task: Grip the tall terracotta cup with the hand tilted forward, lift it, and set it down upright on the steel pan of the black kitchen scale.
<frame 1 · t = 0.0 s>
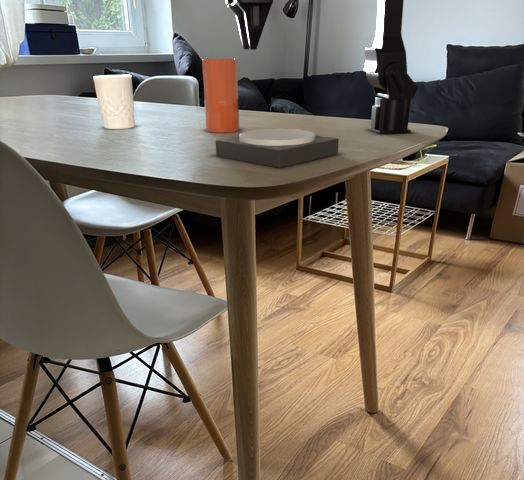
hand: (249, 49, 92), 15 cm above the table, tool pointing down, fingers open, 9 cm apart
cup: (222, 130, 107), on the table
white cup: (119, 128, 113), on the table
scale: (277, 155, 83), on the table
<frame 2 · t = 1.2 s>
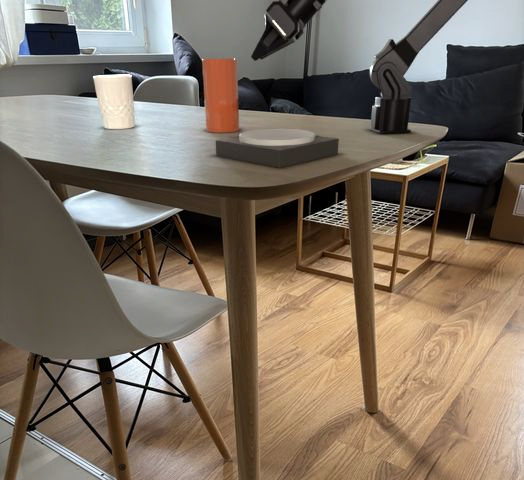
hand: (256, 58, 100), 13 cm above the table, tool tilted 45°, fingers open, 9 cm apart
nothing on the table moved.
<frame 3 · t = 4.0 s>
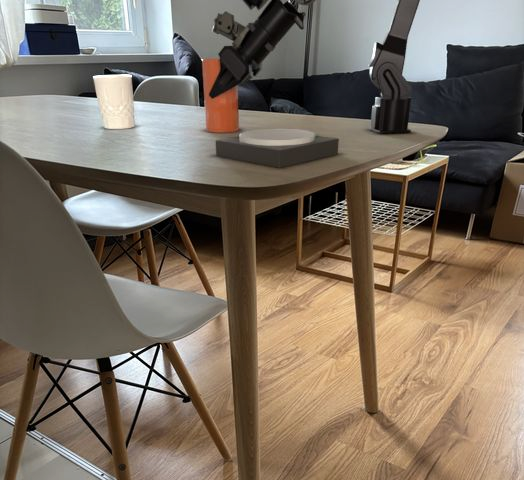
hand: (214, 95, 104), 7 cm above the table, tool tilted 45°, fingers closed on cup, 7 cm apart
cup: (222, 130, 107), on the table, touching gripper
everything else where it was.
when the fingers open (10 cm above the table, at t = 11.2 s): cup stays where it is, resting on scale.
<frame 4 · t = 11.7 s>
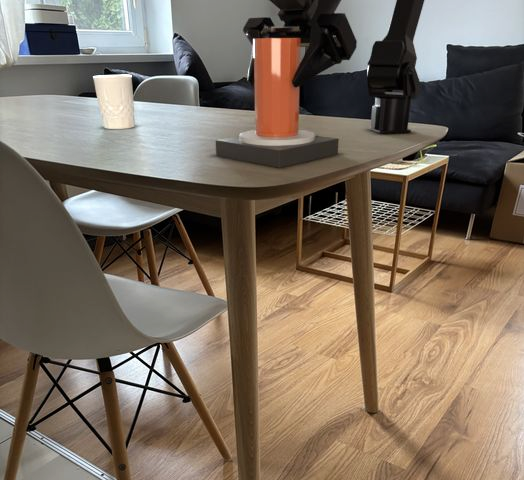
hand: (270, 83, 76), 10 cm above the table, tool tilted 45°, fingers open, 9 cm apart
cup: (276, 134, 81), point 3 cm above the table, touching scale
everything else where it was.
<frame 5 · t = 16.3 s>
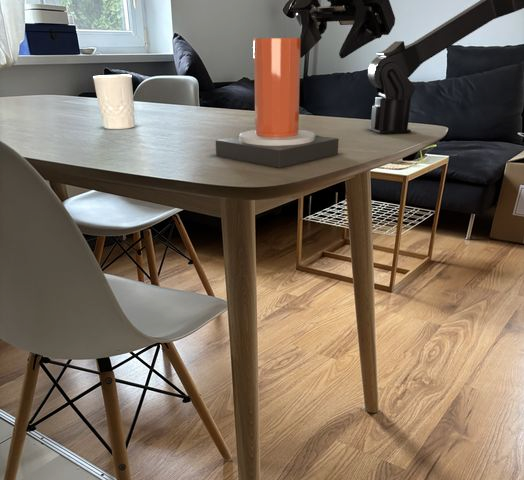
hand: (319, 56, 88), 14 cm above the table, tool tilted 45°, fingers open, 9 cm apart
nothing on the table moved.
at the end: cup inside the target area on the scale (0.0 cm from its centre), point 3.2 cm above the scale's base; cup tilted 0°; the gripper is holding nothing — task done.
